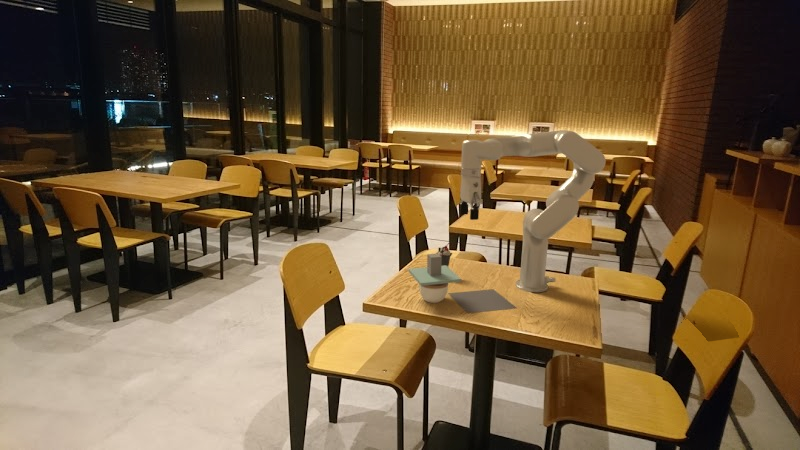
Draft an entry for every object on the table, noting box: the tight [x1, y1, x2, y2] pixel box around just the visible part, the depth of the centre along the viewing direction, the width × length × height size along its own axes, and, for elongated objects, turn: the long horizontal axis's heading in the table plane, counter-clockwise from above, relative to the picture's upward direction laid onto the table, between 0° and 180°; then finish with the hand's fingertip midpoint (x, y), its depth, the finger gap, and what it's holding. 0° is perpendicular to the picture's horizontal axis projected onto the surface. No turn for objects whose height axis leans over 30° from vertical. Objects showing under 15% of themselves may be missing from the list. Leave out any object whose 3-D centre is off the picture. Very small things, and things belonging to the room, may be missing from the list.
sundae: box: [437, 242, 453, 267], centre depth 199 cm, size 7×7×15 cm
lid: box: [408, 252, 462, 286], centre depth 172 cm, size 15×15×8 cm
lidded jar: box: [418, 283, 449, 304], centre depth 174 cm, size 11×11×9 cm
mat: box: [447, 288, 518, 314], centre depth 175 cm, size 19×19×1 cm
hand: (468, 216), depth 184 cm, fingers open, 9 cm apart
